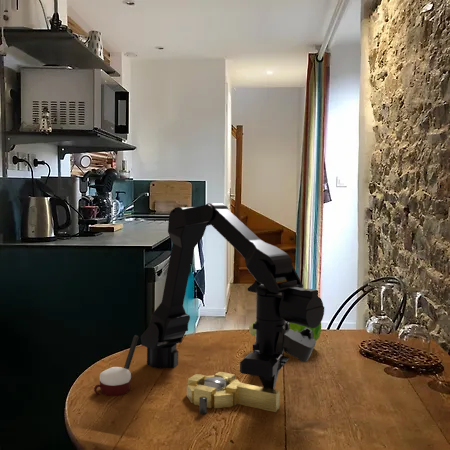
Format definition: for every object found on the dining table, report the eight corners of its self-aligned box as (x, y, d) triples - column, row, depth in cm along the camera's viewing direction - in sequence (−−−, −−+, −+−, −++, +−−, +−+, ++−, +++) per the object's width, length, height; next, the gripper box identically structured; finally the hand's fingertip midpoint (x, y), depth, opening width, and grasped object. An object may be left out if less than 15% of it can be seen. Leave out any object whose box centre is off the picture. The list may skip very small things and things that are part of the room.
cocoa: (94, 406, 105) (92, 348, 104) (93, 393, 111) (91, 338, 110) (142, 400, 108) (141, 343, 106) (139, 387, 114) (137, 333, 112)
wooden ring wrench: (178, 400, 105) (178, 383, 104) (204, 383, 114) (204, 367, 114) (267, 421, 97) (267, 402, 96) (286, 400, 106) (287, 383, 106)
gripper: (300, 335, 91) (298, 423, 92) (322, 309, 108) (320, 383, 110) (239, 328, 95) (238, 412, 97) (269, 304, 112) (268, 375, 114)
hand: (269, 394), depth 104 cm, fingers closed
